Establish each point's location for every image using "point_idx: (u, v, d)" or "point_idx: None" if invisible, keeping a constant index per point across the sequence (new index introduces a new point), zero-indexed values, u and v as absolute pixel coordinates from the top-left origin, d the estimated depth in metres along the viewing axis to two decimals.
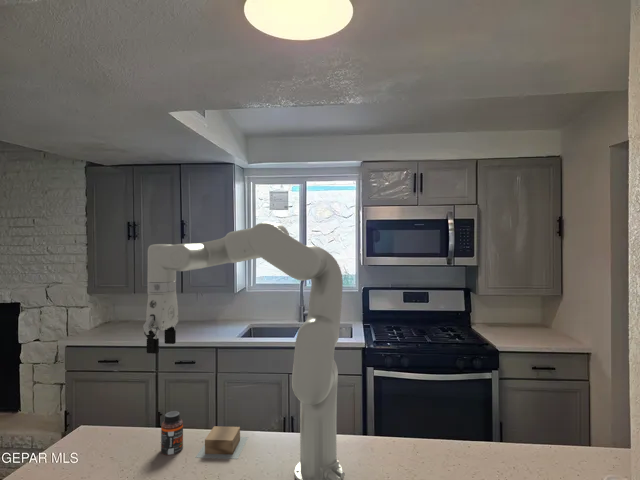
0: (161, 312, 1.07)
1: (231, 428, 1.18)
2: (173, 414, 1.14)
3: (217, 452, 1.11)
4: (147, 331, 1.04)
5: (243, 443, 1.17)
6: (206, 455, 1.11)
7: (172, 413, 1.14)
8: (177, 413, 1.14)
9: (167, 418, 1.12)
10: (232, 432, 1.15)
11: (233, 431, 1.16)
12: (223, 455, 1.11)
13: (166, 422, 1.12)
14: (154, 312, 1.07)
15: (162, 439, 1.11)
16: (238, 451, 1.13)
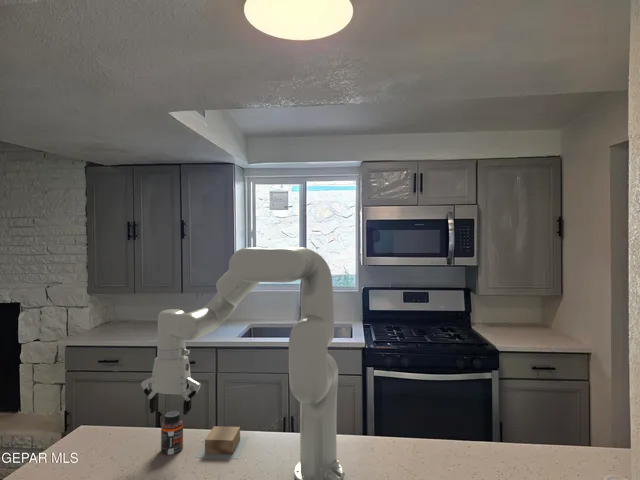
0: None
1: (231, 428, 1.18)
2: (173, 414, 1.14)
3: (217, 452, 1.11)
4: None
5: (243, 443, 1.17)
6: (206, 455, 1.11)
7: (172, 413, 1.14)
8: (177, 413, 1.14)
9: (167, 418, 1.12)
10: (232, 432, 1.15)
11: (233, 431, 1.16)
12: (223, 455, 1.11)
13: (166, 422, 1.12)
14: (188, 374, 1.14)
15: (162, 439, 1.11)
16: (238, 451, 1.13)
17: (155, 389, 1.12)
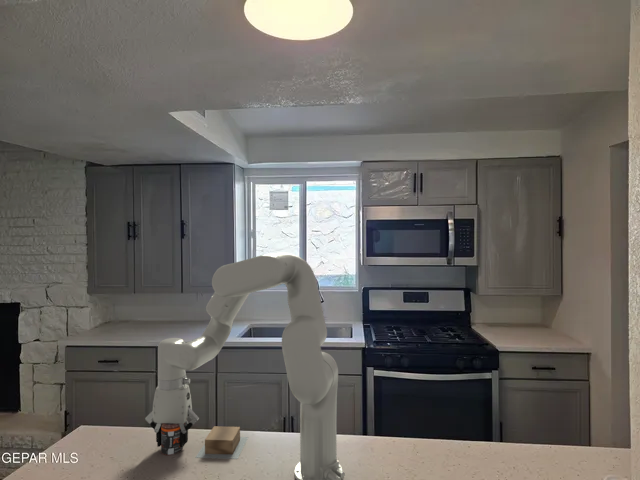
0: None
1: (231, 428, 1.18)
2: None
3: (217, 452, 1.11)
4: (194, 423, 1.14)
5: (243, 443, 1.17)
6: (206, 455, 1.11)
7: None
8: None
9: None
10: (232, 432, 1.15)
11: (233, 431, 1.16)
12: (223, 455, 1.11)
13: None
14: (190, 404, 1.14)
15: (162, 439, 1.11)
16: (238, 451, 1.13)
17: (156, 419, 1.12)
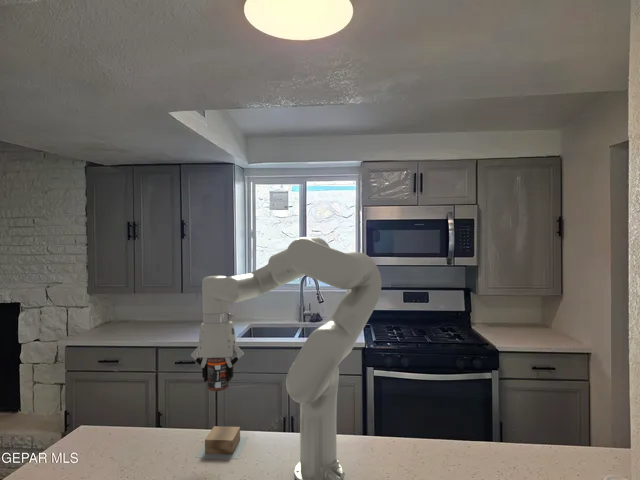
0: None
1: (231, 428, 1.18)
2: None
3: (217, 452, 1.11)
4: (240, 357, 1.15)
5: (243, 443, 1.17)
6: (206, 455, 1.11)
7: None
8: None
9: None
10: (232, 432, 1.15)
11: (233, 431, 1.16)
12: (223, 455, 1.11)
13: None
14: (235, 340, 1.15)
15: (209, 373, 1.13)
16: (238, 451, 1.13)
17: (203, 354, 1.13)
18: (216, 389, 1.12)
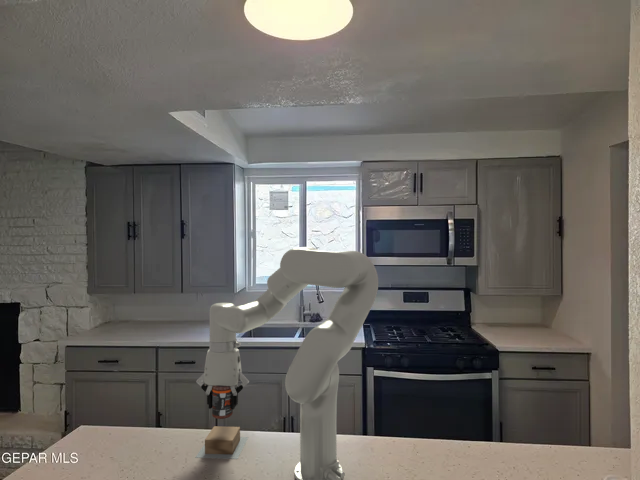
0: None
1: (231, 428, 1.18)
2: None
3: (217, 452, 1.11)
4: (244, 386, 1.15)
5: (243, 443, 1.17)
6: (206, 455, 1.11)
7: None
8: None
9: None
10: (232, 432, 1.15)
11: (233, 431, 1.16)
12: (223, 455, 1.11)
13: None
14: (240, 368, 1.16)
15: (214, 400, 1.13)
16: (238, 451, 1.13)
17: (208, 381, 1.13)
18: (220, 417, 1.12)
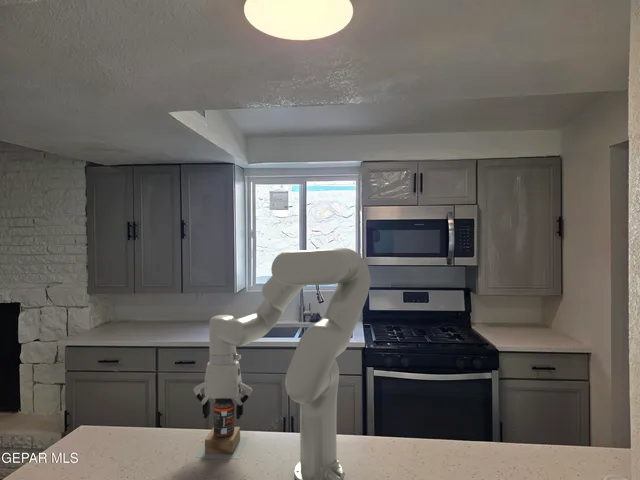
0: None
1: None
2: None
3: (217, 452, 1.11)
4: (249, 394, 1.15)
5: (243, 443, 1.17)
6: (206, 455, 1.11)
7: None
8: None
9: (220, 398, 1.14)
10: None
11: None
12: (223, 455, 1.11)
13: (219, 402, 1.14)
14: (240, 378, 1.16)
15: (215, 418, 1.13)
16: (238, 451, 1.13)
17: (208, 394, 1.13)
18: (222, 435, 1.12)
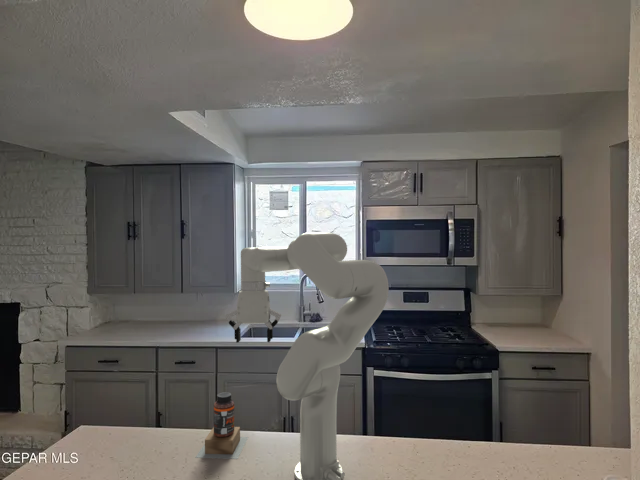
0: None
1: None
2: (224, 394, 1.15)
3: (217, 452, 1.11)
4: None
5: (243, 443, 1.17)
6: (206, 455, 1.11)
7: (224, 394, 1.16)
8: (229, 394, 1.16)
9: (220, 398, 1.14)
10: None
11: None
12: (223, 455, 1.11)
13: (219, 402, 1.14)
14: (269, 305, 1.24)
15: (215, 418, 1.13)
16: (238, 451, 1.13)
17: (240, 319, 1.22)
18: (222, 435, 1.12)
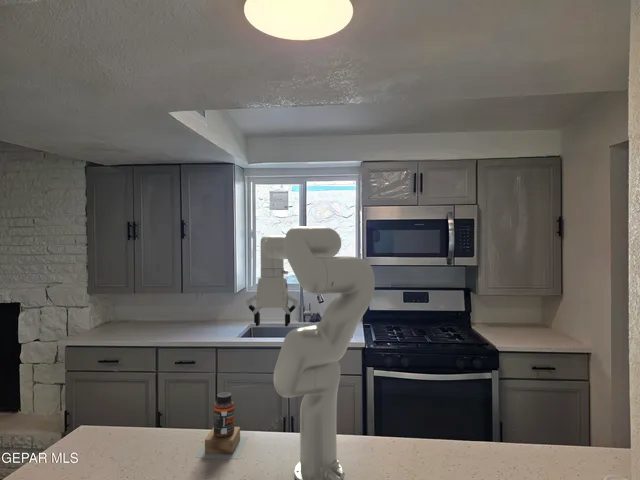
0: None
1: None
2: (224, 394, 1.15)
3: (217, 452, 1.11)
4: (296, 305, 1.29)
5: (243, 443, 1.17)
6: (206, 455, 1.11)
7: (224, 394, 1.16)
8: (229, 394, 1.16)
9: (220, 398, 1.14)
10: None
11: None
12: (223, 455, 1.11)
13: (219, 402, 1.14)
14: (287, 291, 1.30)
15: (215, 418, 1.13)
16: (238, 451, 1.13)
17: (260, 304, 1.28)
18: (222, 435, 1.12)
